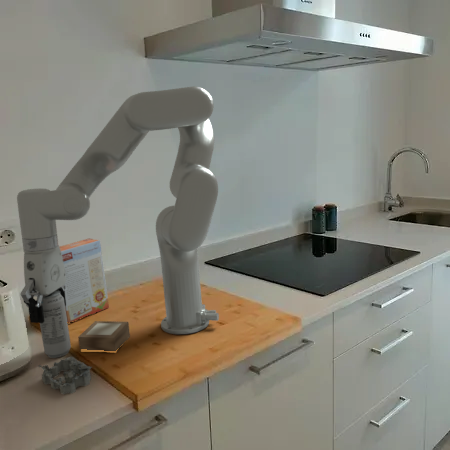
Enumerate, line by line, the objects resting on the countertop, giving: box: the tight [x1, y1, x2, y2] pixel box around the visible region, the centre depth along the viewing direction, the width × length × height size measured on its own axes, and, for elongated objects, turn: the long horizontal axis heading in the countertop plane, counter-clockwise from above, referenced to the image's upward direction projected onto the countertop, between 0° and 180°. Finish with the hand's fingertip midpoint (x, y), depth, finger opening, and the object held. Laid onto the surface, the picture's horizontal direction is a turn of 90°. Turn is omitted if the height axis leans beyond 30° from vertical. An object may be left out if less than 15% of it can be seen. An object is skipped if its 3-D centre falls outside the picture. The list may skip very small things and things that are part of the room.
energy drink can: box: [39, 290, 72, 359], centre depth 113 cm, size 6×6×15 cm
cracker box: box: [59, 238, 110, 323], centre depth 135 cm, size 14×6×21 cm, turn 141°
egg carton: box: [38, 356, 93, 395], centre depth 101 cm, size 11×8×4 cm
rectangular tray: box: [78, 320, 131, 351], centre depth 117 cm, size 9×9×4 cm
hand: (49, 314), depth 112 cm, fingers open, 9 cm apart
